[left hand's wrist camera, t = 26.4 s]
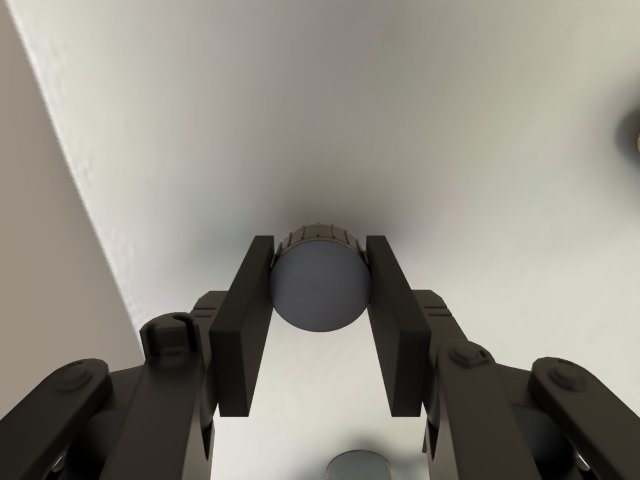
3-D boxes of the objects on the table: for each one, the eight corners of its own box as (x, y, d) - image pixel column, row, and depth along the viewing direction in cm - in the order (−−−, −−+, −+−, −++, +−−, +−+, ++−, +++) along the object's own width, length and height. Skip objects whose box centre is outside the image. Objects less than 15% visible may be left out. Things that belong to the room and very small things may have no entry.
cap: (261, 293, 15) (253, 317, 13) (288, 209, 14) (283, 223, 12) (347, 319, 16) (351, 345, 14) (382, 240, 14) (390, 258, 13)
